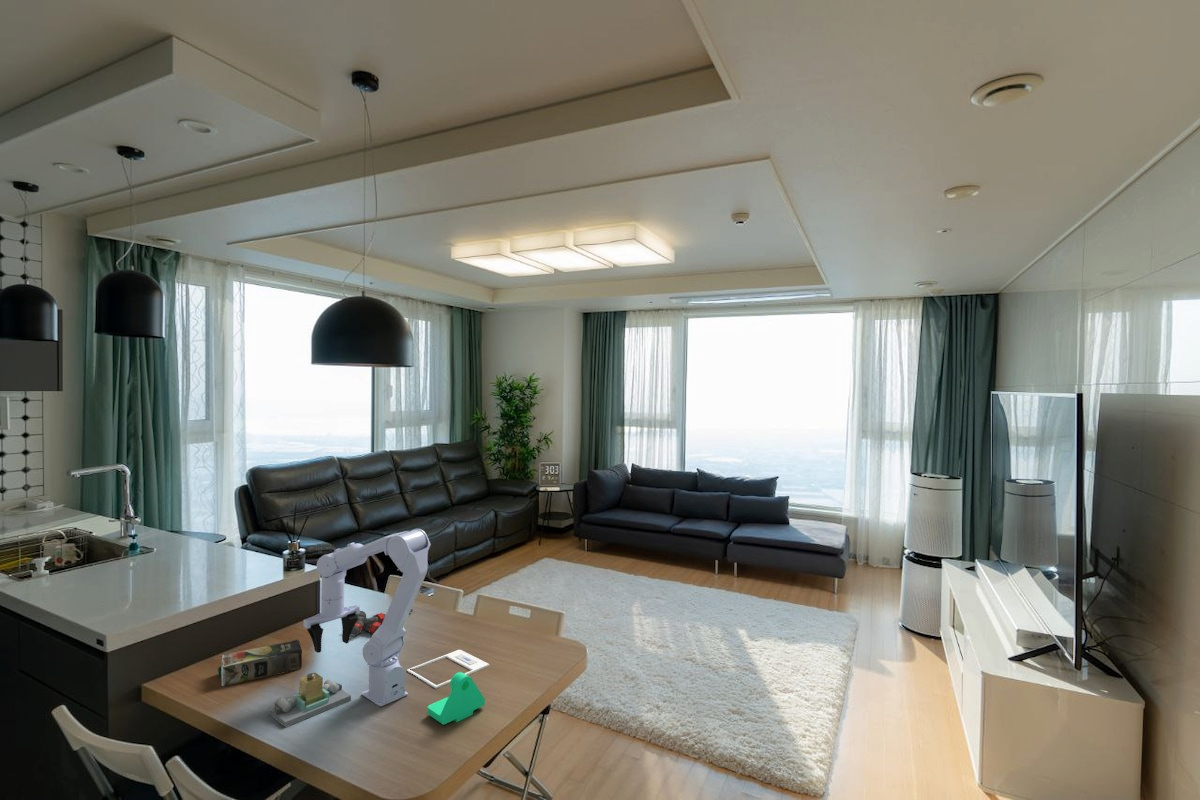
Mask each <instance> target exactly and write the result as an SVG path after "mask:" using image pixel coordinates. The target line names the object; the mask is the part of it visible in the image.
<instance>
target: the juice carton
mask: <svg viewBox="0 0 1200 800" xmlns="http://www.w3.org/2000/svg"><path fill="white" fill-rule="evenodd" d="M302 654H303V649H302V646H301V643H300V640H299V639H294V640H291V641H286V642H280V643H275V644H271V645H270V644H269V645H266V646H261V647H254V648H250V649H245V650H241V651H235V652H231V653H226V654H222V657H221V664H220V665H221V666H219V667H217V673H216V674H217V677H219V678H221V686H222V687H225V686H226V687H227V686H230V685H234V684H235V685H236V684H241V683H244V682H248V681H252V680H256V679H262V678H267V677H271V675H272V676H275V675H274V674H276V675H279V674H278V673H281V674H283V673H282V672H285V673H288V672H287V671H290V672H293V671H292V670H295V671H298V669H299V670H302V666H303V665H302V664H303V663H302V659H303V655H302Z"/></svg>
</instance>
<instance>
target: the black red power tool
mask: <svg viewBox="0 0 1200 800" xmlns="http://www.w3.org/2000/svg"><path fill="white" fill-rule="evenodd" d="M412 612H414V610H413V608H411V610H410V613H412ZM356 616H358V620H357V622H356V623H355V625H354V627H353V629H352V632H351V635H352V636H355V637H356V636H357V635H359V634H360V633H361V632H362V631H365V632H366V633H370V635H371V636H372V635H373V634H374V633H375V632H376V630H377V629H378V628H379V627H380V626H381V625H382V623H383V620H384V618H385V616H386V613H383V612H380V613H377V614H374V615H372V616H371V617H367V614H366V612H365V611H363V610H360V613H359V614H356Z"/></svg>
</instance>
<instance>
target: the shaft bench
mask: <svg viewBox="0 0 1200 800" xmlns="http://www.w3.org/2000/svg"><path fill="white" fill-rule="evenodd" d="M342 687H343V684H341V683H338V682H334V681H332V680H331V679H326V680H325V681H324V682H323V691H322V700H321V701H318V702H316V703H313V704H311V705H308V706H306V707H305V701H304V700H302V699H301V698H300V697H299V695H297V694H294V695H292V696H291V697H289V698H288V699H286V698H284V697H282V696H281V697H278V698H276V700H275V703H274V706H273V707H270V708H269V709H268V710H269V713H270V714H271V715H272V716H271V715H270V714H269V713H268V714H269V715H270V716H271V717H273V718H274V717H275V718H276V719H277V720H278V721H279V722H280V723H279V722H278V721H277V720H276V719H275V718H274V719H275V720H276V721H277V722H278V723H279V724H281V723H282V724H283V725H284V726H285V727H284V726H283V725H282V724H281V725H282V726H283V727H284V728H287V727H289V726H288V725H290V726H292V725H294V724H296V723H299V722H301V721H304V720H306V718H307V719H309V718H311V717H313V715H314V716H316V715H319V714H321V713H324V712H325V711H328V710H330V709H333V708H335V707H338V706H340V705H342V704H346V703H348V702H351V700H352V696H351V694H349V693H348V692H346V691H345V690H344V689H343V688H342ZM291 724H292V725H291ZM286 726H287V727H286Z"/></svg>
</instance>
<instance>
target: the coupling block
mask: <svg viewBox="0 0 1200 800" xmlns="http://www.w3.org/2000/svg"><path fill="white" fill-rule="evenodd" d="M323 680H324V678H323V677H322V676H321V675H320V674H318V673H317V672H310V673H307V675H304V676H302V677H299V679H298V696H299V697H300V698H301V699H302V700H304V701H305V707H306V706H308V705H311V704H313V703H316V702H318V701H321V700H322V691H323V685H324V682H323Z"/></svg>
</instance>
